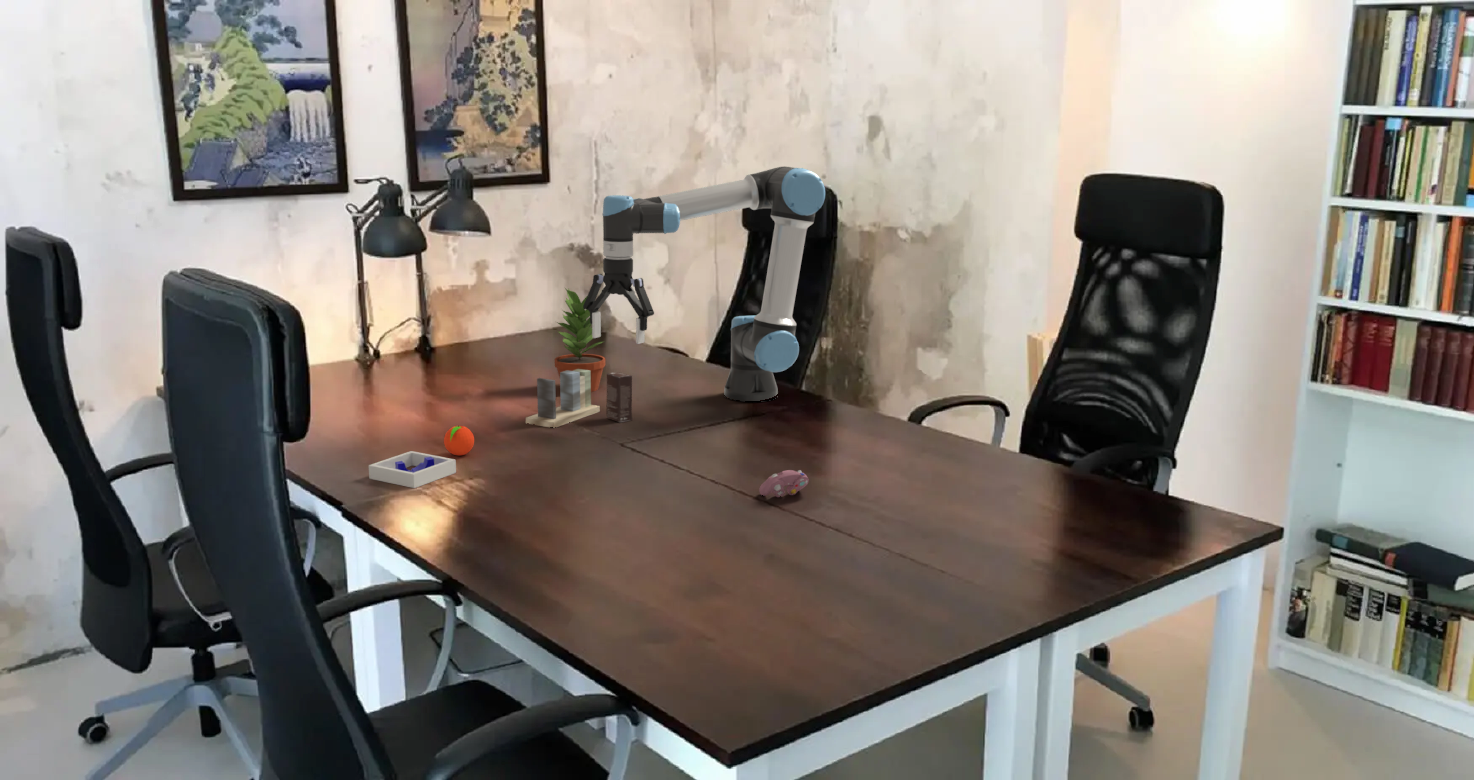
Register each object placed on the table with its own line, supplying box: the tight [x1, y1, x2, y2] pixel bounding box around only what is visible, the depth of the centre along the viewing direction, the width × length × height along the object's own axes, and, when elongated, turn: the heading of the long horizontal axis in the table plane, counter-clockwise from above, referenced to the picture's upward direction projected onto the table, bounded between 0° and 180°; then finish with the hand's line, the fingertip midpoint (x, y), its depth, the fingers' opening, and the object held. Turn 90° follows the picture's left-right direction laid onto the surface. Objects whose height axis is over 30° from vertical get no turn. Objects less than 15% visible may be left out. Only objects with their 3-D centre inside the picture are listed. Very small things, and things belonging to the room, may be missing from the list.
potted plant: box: [554, 287, 606, 393], centre depth 342 cm, size 15×15×30 cm
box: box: [606, 371, 633, 423], centre depth 311 cm, size 6×4×12 cm
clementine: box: [443, 425, 475, 457], centre depth 277 cm, size 8×7×7 cm
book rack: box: [525, 369, 601, 429], centre depth 312 cm, size 9×20×12 cm, turn 151°
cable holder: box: [395, 457, 434, 473], centre depth 262 cm, size 8×4×4 cm, turn 123°
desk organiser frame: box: [368, 450, 457, 489], centre depth 262 cm, size 13×13×3 cm
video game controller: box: [758, 469, 810, 498], centre depth 252 cm, size 10×5×7 cm, turn 118°
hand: (618, 340), depth 308 cm, fingers open, 13 cm apart
